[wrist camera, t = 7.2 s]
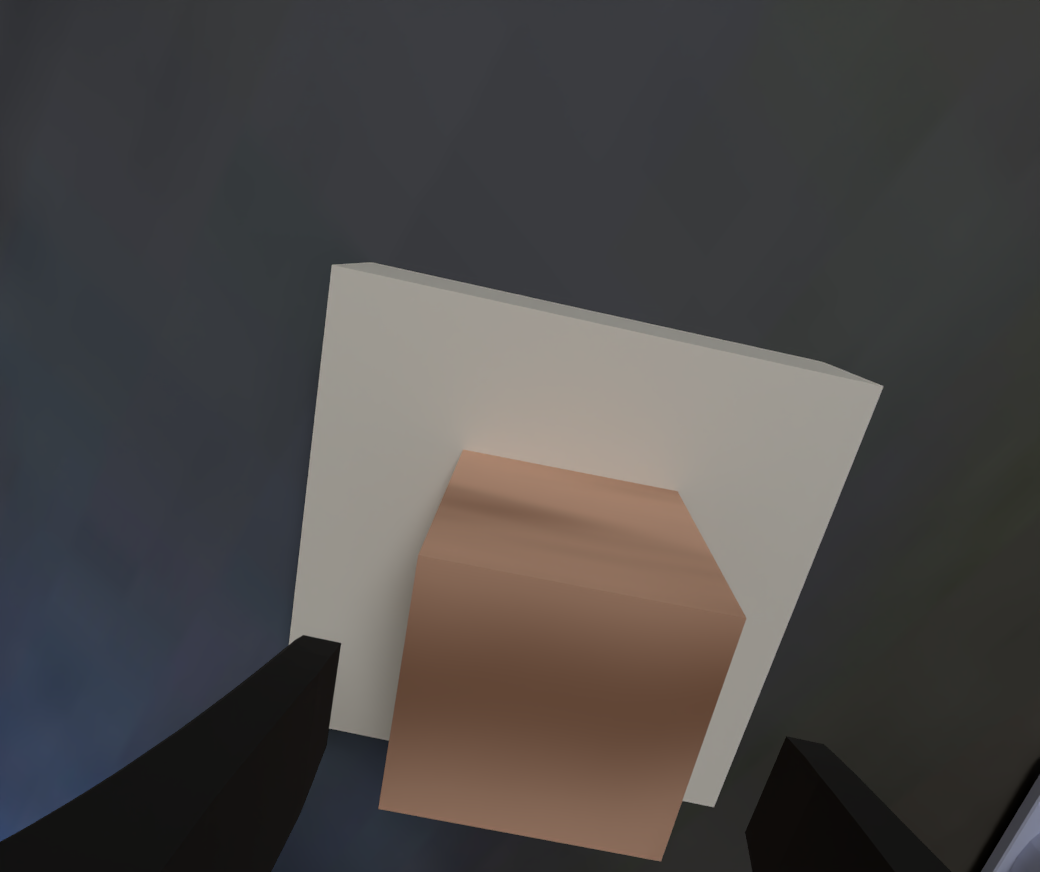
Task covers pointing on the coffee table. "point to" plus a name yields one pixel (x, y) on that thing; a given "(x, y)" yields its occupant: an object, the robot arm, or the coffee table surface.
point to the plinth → (555, 460)
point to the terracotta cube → (558, 658)
